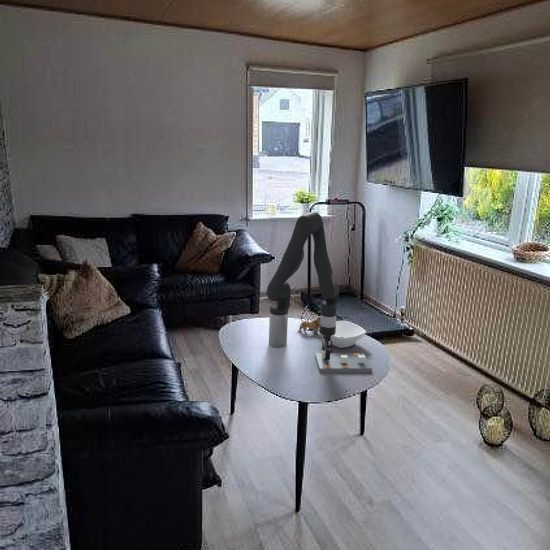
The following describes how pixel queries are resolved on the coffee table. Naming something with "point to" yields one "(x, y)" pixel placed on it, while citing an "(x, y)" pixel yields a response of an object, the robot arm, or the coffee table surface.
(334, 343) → the bowl
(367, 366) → the switch unit
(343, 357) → the switch
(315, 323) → the lion figurine
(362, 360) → the switch
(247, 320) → the coffee table surface
